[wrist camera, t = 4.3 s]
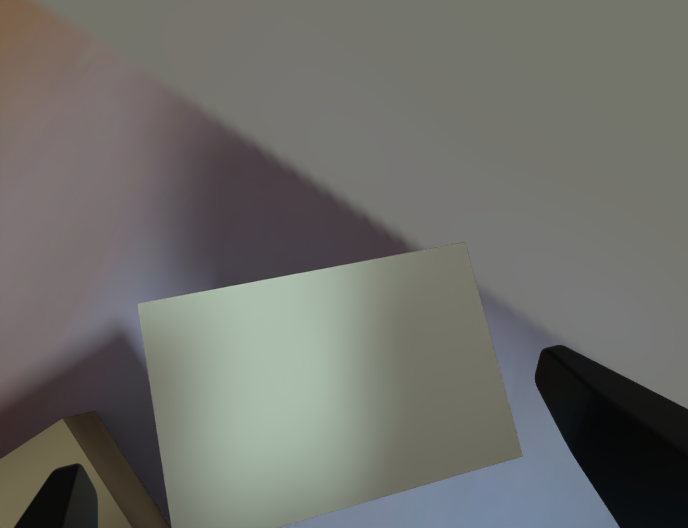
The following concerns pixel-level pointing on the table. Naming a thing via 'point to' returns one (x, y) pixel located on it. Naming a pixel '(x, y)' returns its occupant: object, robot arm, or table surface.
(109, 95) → the table surface
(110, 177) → the table surface
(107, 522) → the base
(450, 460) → the carton
